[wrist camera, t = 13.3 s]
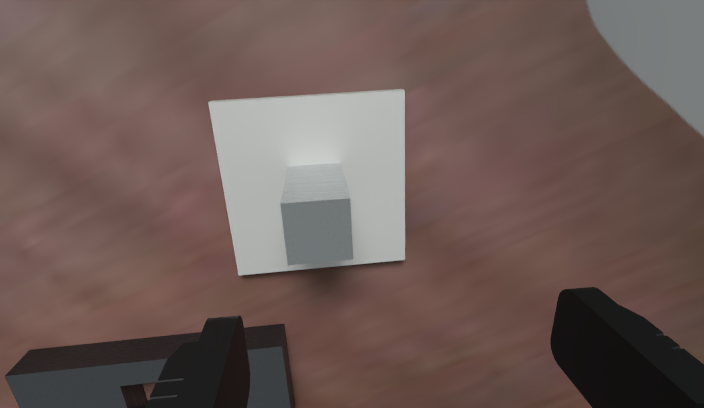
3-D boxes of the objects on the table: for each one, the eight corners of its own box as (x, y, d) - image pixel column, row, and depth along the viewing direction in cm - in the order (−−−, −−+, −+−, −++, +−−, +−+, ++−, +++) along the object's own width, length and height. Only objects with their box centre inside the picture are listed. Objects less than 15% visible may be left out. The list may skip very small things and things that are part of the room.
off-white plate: (240, 269, 34) (238, 275, 33) (211, 100, 29) (208, 102, 28) (402, 254, 35) (405, 259, 34) (401, 89, 30) (404, 90, 29)
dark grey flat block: (65, 433, 38) (45, 463, 35) (29, 350, 34) (4, 376, 32) (295, 406, 40) (294, 432, 37) (283, 323, 36) (281, 346, 33)
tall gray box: (293, 215, 31) (287, 265, 24) (287, 166, 30) (280, 203, 22) (343, 211, 32) (353, 259, 24) (340, 162, 30) (350, 198, 23)
